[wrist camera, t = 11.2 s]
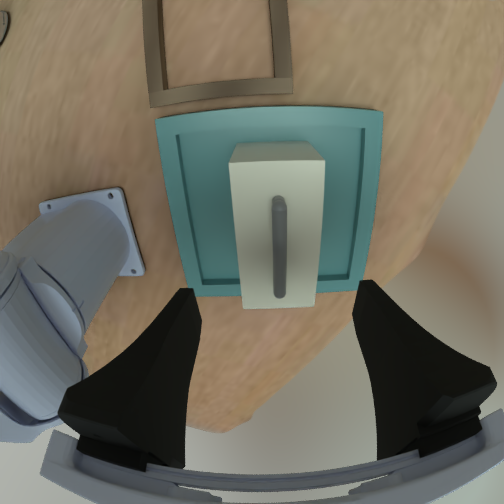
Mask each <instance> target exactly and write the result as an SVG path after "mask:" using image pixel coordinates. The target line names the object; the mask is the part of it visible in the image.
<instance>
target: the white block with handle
mask: <svg viewBox="0 0 504 504" xmlns="http://www.w3.org/2000/svg"><path fill="white" fill-rule="evenodd" d="M229 173H230V184H231V195H232V206H233V216H234V226H235V236H236V246H237V256H238V266H239V275H240V285H241V294H242V303H243V309H268V308H294V307H314V303H315V295H316V286H317V276H318V266H319V256H320V244H321V232H322V218H323V201H324V180H325V160H324V159H323V157H322V156H321V155H320V154H319V153H318V152H317V151H316V150H315V149H314V147H313V146H312V145H311V144H310V143H309V142H308V141H272V142H248V143H237V144H236V147H235V149H234V151H233V154H232V156H231V158H230V161H229Z"/></svg>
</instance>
